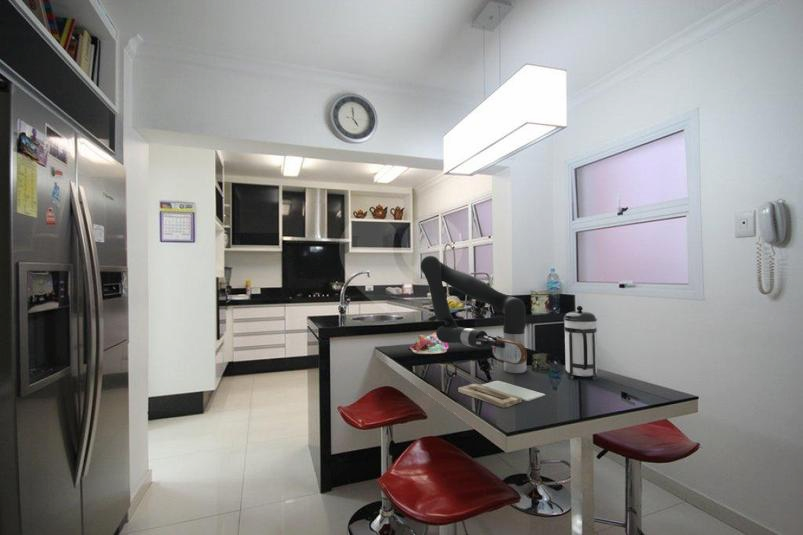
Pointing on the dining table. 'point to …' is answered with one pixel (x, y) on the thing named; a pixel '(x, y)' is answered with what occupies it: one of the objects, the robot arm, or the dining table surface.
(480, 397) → the slot holder
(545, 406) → the dining table surface
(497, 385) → the mat
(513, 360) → the tin
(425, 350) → the candy landscape model
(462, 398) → the dining table surface
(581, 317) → the coffee press
